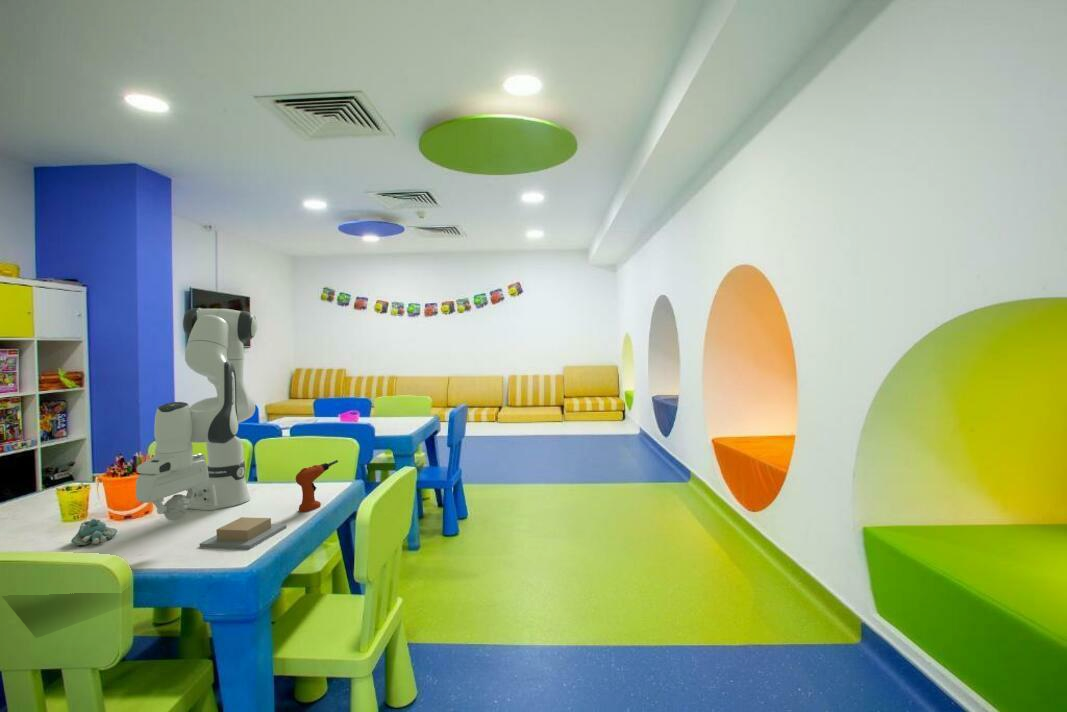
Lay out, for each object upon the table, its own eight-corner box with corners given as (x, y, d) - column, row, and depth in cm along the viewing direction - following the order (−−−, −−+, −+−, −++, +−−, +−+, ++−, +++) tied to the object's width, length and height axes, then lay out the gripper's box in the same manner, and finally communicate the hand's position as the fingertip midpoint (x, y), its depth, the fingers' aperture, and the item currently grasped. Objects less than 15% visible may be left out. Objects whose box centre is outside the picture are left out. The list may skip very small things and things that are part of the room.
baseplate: (199, 547, 144) (198, 533, 144) (240, 526, 160) (239, 513, 160) (250, 548, 142) (249, 534, 142) (286, 527, 158) (285, 514, 157)
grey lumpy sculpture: (195, 515, 147) (194, 492, 147) (172, 525, 141) (170, 501, 140) (180, 513, 149) (178, 490, 149) (156, 523, 143) (154, 499, 142)
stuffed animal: (76, 534, 143) (65, 518, 150) (76, 557, 144) (65, 540, 151) (123, 522, 152) (111, 507, 159) (123, 544, 153) (111, 529, 160)
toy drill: (347, 492, 188) (341, 453, 186) (306, 515, 171) (299, 473, 169) (337, 491, 190) (331, 452, 188) (295, 513, 173) (289, 471, 171)
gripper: (196, 451, 155) (197, 496, 155) (130, 468, 135) (132, 519, 135) (213, 452, 154) (214, 497, 154) (150, 470, 134) (151, 521, 134)
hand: (175, 508), depth 145 cm, fingers closed on grey lumpy sculpture, 7 cm apart
